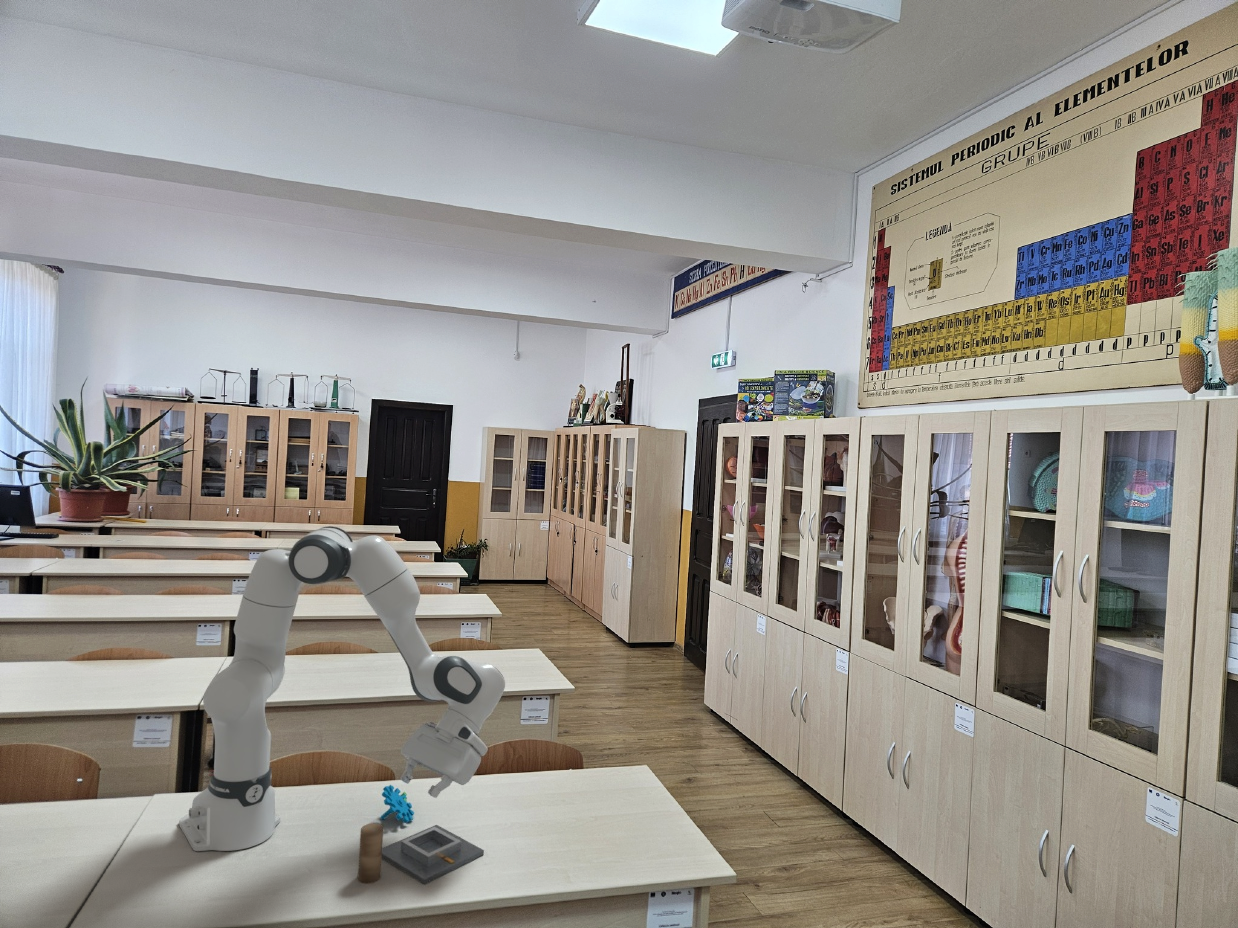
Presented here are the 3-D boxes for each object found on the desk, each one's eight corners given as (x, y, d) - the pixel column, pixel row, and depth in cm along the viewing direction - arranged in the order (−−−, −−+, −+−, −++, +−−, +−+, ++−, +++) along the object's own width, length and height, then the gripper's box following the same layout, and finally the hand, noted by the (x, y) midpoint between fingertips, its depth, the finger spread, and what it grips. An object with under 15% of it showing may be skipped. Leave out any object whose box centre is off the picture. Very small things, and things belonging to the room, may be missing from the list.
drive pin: (353, 876, 158) (356, 828, 158) (372, 868, 162) (374, 821, 161) (366, 885, 155) (369, 836, 155) (384, 876, 159) (387, 828, 159)
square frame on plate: (376, 854, 167) (377, 840, 167) (436, 828, 180) (437, 815, 180) (424, 884, 157) (425, 869, 157) (483, 854, 170) (484, 840, 170)
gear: (408, 824, 177) (381, 790, 178) (388, 842, 177) (361, 807, 178) (422, 809, 188) (396, 776, 189) (403, 825, 188) (377, 793, 189)
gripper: (418, 712, 179) (380, 766, 172) (479, 737, 167) (440, 796, 159) (433, 726, 183) (395, 780, 175) (493, 751, 170) (456, 810, 163)
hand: (417, 788), depth 167 cm, fingers open, 8 cm apart
